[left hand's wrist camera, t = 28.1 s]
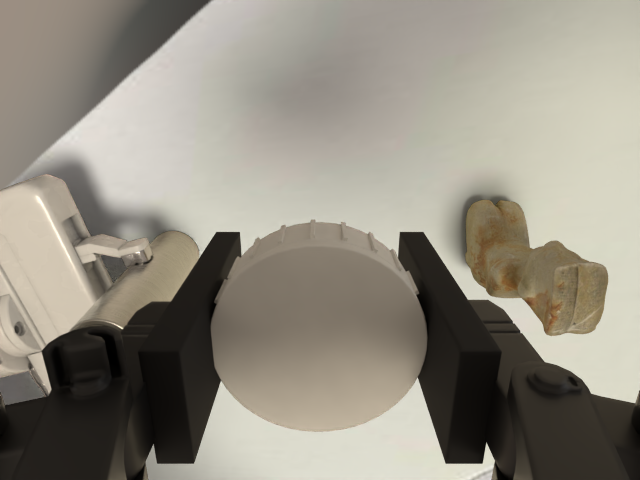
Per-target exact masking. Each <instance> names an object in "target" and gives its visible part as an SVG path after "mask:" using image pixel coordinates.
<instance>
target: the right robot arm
mask: <svg viewBox="0 0 640 480" xmlns="http://www.w3.org/2000/svg"><path fill="white" fill-rule="evenodd" d="M101 255H107V256H112V257H117V258H122V260H123V262H124V264H125V266H126V267H129V266H133V265H135V264H136V263H138V264H141V263H145V262H147V261H149V260H150V259H151V257H152V256H153V255H154V254H153V251H152V249H151V246H150V244H149V241H148V239H147V238H141V239H137V240H133V241H129V242H127V241H126V240H123V239H119V238H115V237H111V236H108V235H104V234H100V235H96V236H92V237H91V236H90V234H89V232H88V230H87V227H86V225H85V223H84V221H83V219H82V217H81V215H80V213H79V211H78V209H77V206H76V204H75V202H74V200H73V198H72V196H71V194H70V192H69V189H68V187H67V185H66V183H65V182H64V181H63V180H62V179H59V178H57V177H54V176H51V175H49V174H45V175H41V176H38V177H35V178H32V179H29V180H26V181H23V182H20V183H18V184H15V185H12V186H10V187H7V188H5V189H2V190H0V378H2V377H6V376H10V375H14V374H18V373H22V372H26V371H29V373H30V375H31V376H32V378H33V380H34V381H35V383H36V384H37V385H38V386H39V387H40V389H41V390H42V392H43V393H44V397H46V396H49V394H50V391H51V386H50V382H49V378H48V374H47V371H46V367H45V363H44V359H43V356H42V352H41V351H42V350H43V349H44V347H45V346H46V345H47V344H48V343H49V342H51V341H52V340H54V339H55V338H57V337H59V336H60V335H63V334H65V333H68V332H69V331H70V329H71V328H72V327H73V326H74V325H75V324H76V323H77V322H78V321H79V320H80V319H81V317H82V316H83V315H84V314H85V313H86V312H87V311H88V310H89V309H90V308H91V307H92V306H93V305H94V304H95V302H96V301H97V300H98V299H99V298H100V297H101V296H102V295H103V294H104V293H105V292H106V291H107V290H108V289H109V287H110V286H111V285H112V284H113V282H112V280H111V278H110V276H109V274H108V272H107V269H106V267H105V265H104V263H103V261H102V259H101V257H100V256H101Z"/></svg>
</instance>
